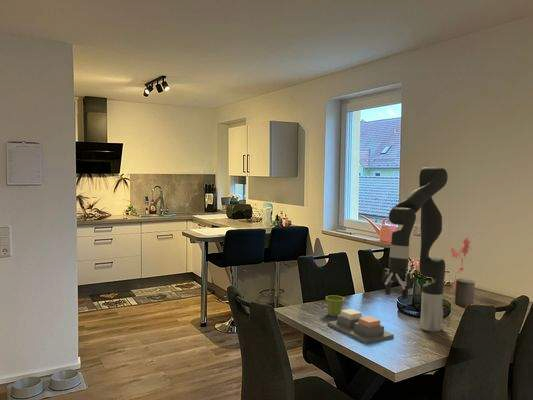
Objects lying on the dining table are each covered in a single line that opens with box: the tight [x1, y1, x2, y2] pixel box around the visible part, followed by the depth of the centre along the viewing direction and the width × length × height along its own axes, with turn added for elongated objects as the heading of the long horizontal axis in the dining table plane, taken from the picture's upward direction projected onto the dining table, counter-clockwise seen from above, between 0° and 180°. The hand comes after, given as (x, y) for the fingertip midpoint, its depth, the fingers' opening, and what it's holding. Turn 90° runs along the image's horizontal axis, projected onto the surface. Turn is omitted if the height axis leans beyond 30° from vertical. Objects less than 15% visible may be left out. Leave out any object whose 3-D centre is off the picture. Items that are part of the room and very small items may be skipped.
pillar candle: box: [454, 277, 476, 307], centre depth 250 cm, size 10×10×15 cm
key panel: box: [327, 314, 395, 345], centre depth 202 cm, size 16×26×5 cm, turn 30°
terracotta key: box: [358, 315, 381, 328], centre depth 197 cm, size 7×7×3 cm
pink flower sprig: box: [446, 236, 473, 294], centre depth 274 cm, size 15×26×35 cm, turn 139°
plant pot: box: [325, 294, 345, 317], centre depth 225 cm, size 9×9×9 cm
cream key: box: [340, 308, 362, 320], centre depth 207 cm, size 7×7×3 cm
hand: (395, 296), depth 181 cm, fingers open, 8 cm apart
